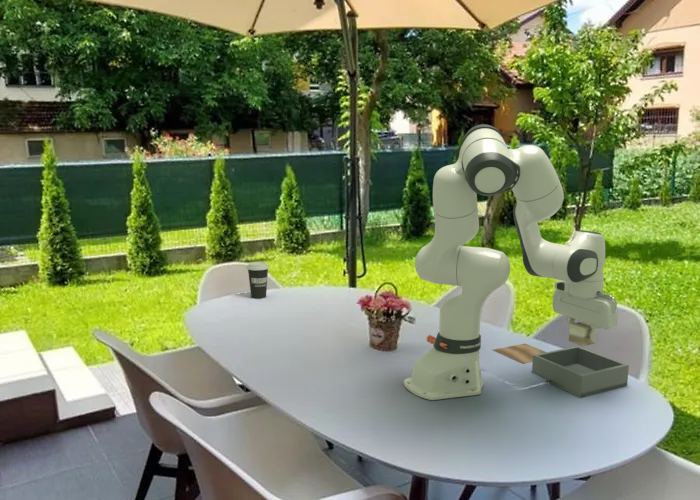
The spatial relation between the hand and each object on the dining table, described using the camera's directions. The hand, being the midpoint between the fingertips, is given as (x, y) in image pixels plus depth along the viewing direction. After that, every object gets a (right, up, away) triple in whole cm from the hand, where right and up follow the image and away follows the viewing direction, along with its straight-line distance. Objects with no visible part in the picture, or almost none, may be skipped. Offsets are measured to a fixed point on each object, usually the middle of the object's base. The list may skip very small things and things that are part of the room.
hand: (582, 335), depth 169 cm
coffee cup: (-106, +3, +95) cm, 142 cm away
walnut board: (-10, -10, +22) cm, 26 cm away
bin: (0, -13, +2) cm, 13 cm away
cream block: (0, -2, 0) cm, 2 cm away
